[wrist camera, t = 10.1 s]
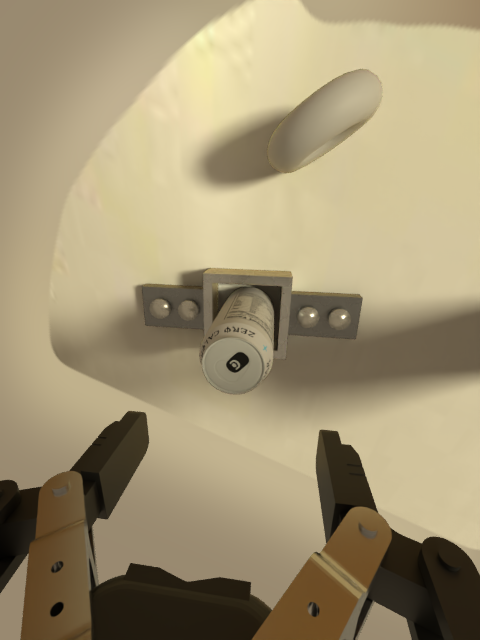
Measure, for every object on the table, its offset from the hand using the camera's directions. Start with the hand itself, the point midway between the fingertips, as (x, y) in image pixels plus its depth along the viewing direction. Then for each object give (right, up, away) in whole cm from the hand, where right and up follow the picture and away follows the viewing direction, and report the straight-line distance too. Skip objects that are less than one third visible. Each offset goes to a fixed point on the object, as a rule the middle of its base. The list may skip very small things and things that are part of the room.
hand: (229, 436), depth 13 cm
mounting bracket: (+2, +7, +23) cm, 24 cm away
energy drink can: (+2, +7, +23) cm, 24 cm away
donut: (+8, +23, +17) cm, 30 cm away
